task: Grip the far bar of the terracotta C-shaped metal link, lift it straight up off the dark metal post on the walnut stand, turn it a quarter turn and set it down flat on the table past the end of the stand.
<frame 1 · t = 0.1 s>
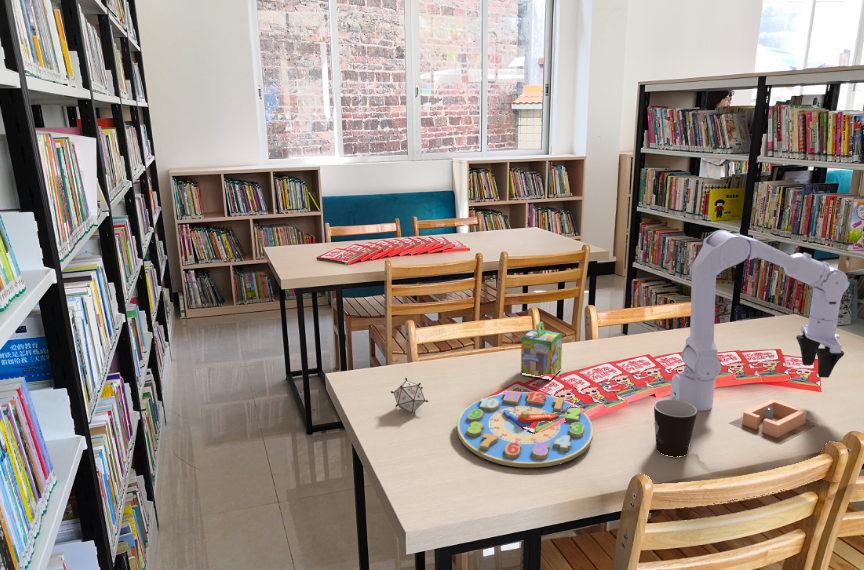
hand: (815, 370, 152), 10 cm above the table, tool pointing down, fingers open, 7 cm apart
game die: (409, 412, 157), on the table
shape sorting clock: (523, 437, 144), on the table
coffee mug: (673, 447, 138), on the table
hook post: (766, 426, 143), resting on stand base
c link: (773, 423, 145), point 1 cm above the table, touching stand base
stand base: (772, 428, 145), on the table
chalk box: (541, 373, 179), on the table
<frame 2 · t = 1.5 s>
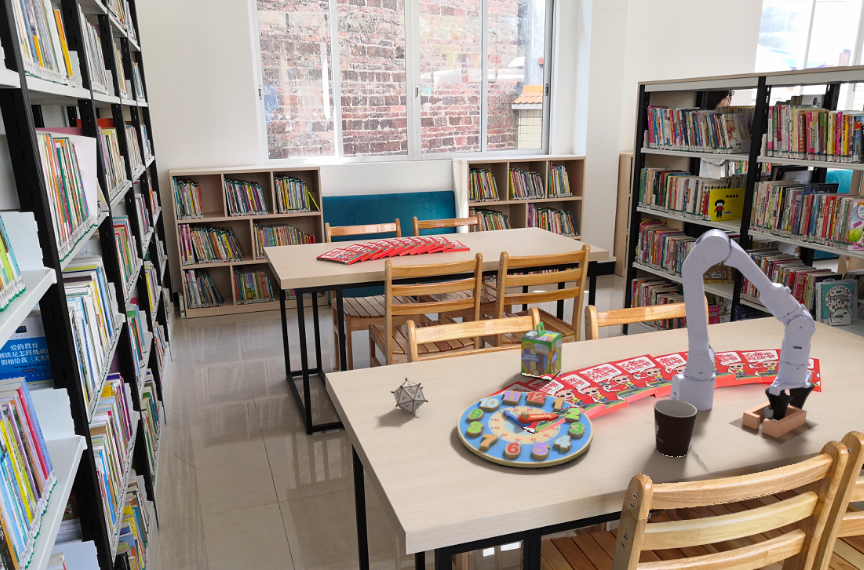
hand: (786, 415, 147), 2 cm above the table, tool pointing down, fingers open, 7 cm apart
nothing on the table moved.
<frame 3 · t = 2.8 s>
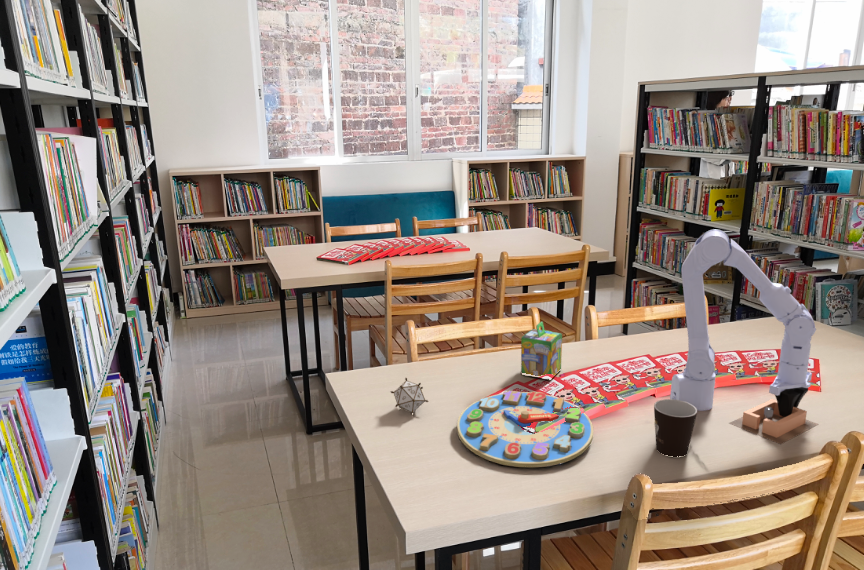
hand: (786, 415, 147), 2 cm above the table, tool pointing down, fingers closed on c link
c link: (773, 423, 145), point 1 cm above the table, touching gripper, stand base
everything else where it was.
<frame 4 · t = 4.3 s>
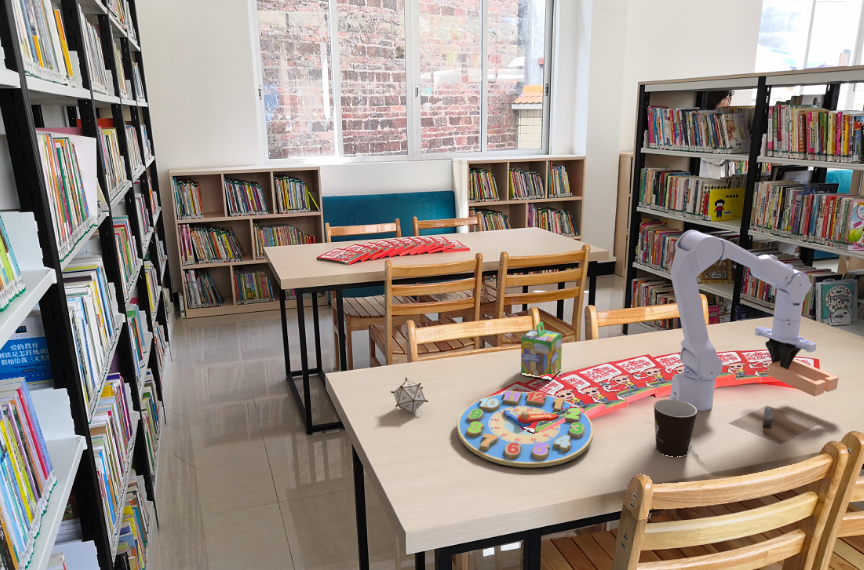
hand: (780, 370, 155), 9 cm above the table, tool pointing down, fingers closed on c link
c link: (801, 381, 151), point 8 cm above the table, touching gripper
everything else where it was.
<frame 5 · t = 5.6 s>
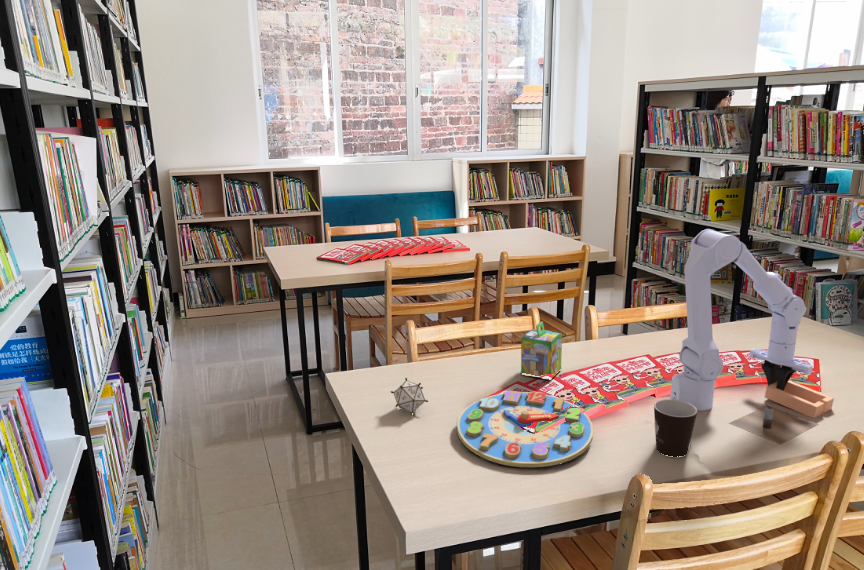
hand: (775, 391, 158), 3 cm above the table, tool pointing down, fingers closed on c link
c link: (797, 403, 154), point 2 cm above the table, touching gripper
everything else where it was.
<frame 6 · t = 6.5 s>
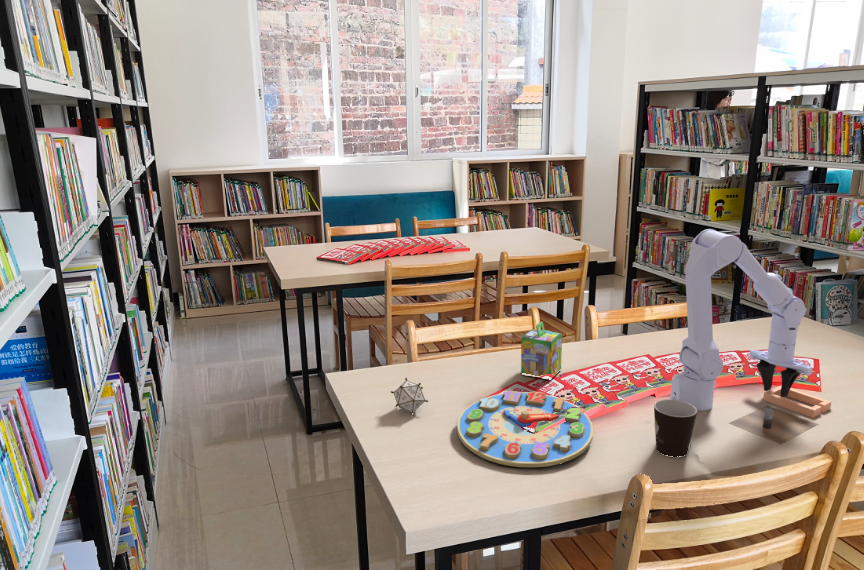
hand: (775, 392, 158), 2 cm above the table, tool pointing down, fingers open, 4 cm apart
c link: (795, 408, 154), on the table
everything else where it was.
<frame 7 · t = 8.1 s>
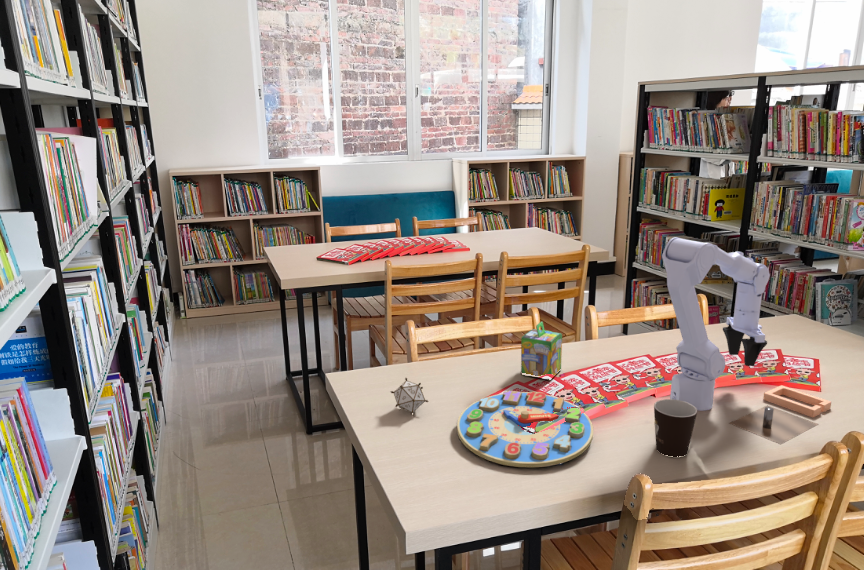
hand: (741, 359, 161), 9 cm above the table, tool pointing down, fingers open, 7 cm apart
nothing on the table moved.
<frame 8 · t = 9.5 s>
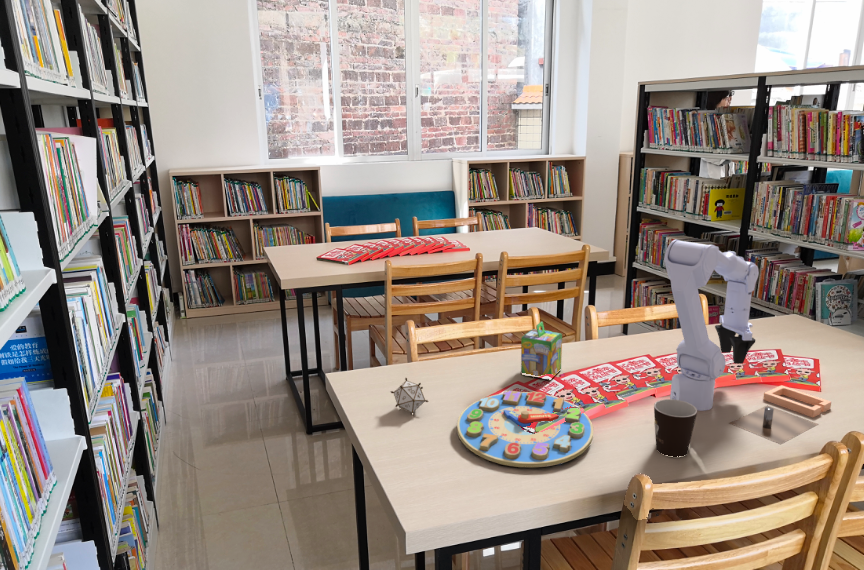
hand: (731, 357, 162), 9 cm above the table, tool pointing down, fingers open, 7 cm apart
nothing on the table moved.
at the end: c link inside the target area (0.7 cm from its centre), on the table; c link touching table; c link tilted 0° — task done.
